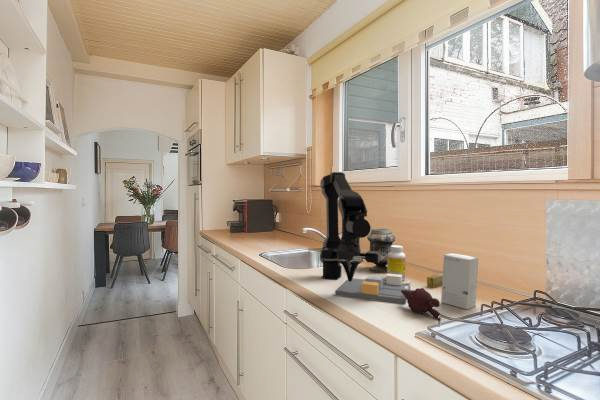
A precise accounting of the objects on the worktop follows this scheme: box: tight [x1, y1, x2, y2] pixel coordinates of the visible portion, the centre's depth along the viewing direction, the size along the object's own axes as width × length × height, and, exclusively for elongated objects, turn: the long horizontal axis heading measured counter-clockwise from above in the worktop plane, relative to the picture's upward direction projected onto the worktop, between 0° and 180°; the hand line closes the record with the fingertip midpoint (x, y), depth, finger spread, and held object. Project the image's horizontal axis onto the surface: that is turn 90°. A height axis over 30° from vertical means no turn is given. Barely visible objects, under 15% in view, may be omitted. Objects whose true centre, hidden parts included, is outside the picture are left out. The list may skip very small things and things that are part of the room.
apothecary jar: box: [366, 227, 396, 274], centre depth 146 cm, size 12×12×18 cm
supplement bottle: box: [387, 244, 406, 282], centre depth 131 cm, size 7×7×13 cm
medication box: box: [426, 272, 443, 289], centre depth 124 cm, size 12×3×4 cm, turn 127°
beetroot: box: [401, 287, 442, 320], centre depth 96 cm, size 7×7×15 cm
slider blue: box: [365, 276, 383, 289], centre depth 115 cm, size 5×4×3 cm
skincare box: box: [440, 253, 479, 310], centre depth 102 cm, size 8×6×15 cm
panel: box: [334, 277, 411, 305], centre depth 115 cm, size 22×18×3 cm
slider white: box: [385, 273, 403, 286], centre depth 119 cm, size 5×4×3 cm
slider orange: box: [361, 281, 379, 295], centre depth 109 cm, size 5×4×3 cm
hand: (350, 281), depth 111 cm, fingers closed
